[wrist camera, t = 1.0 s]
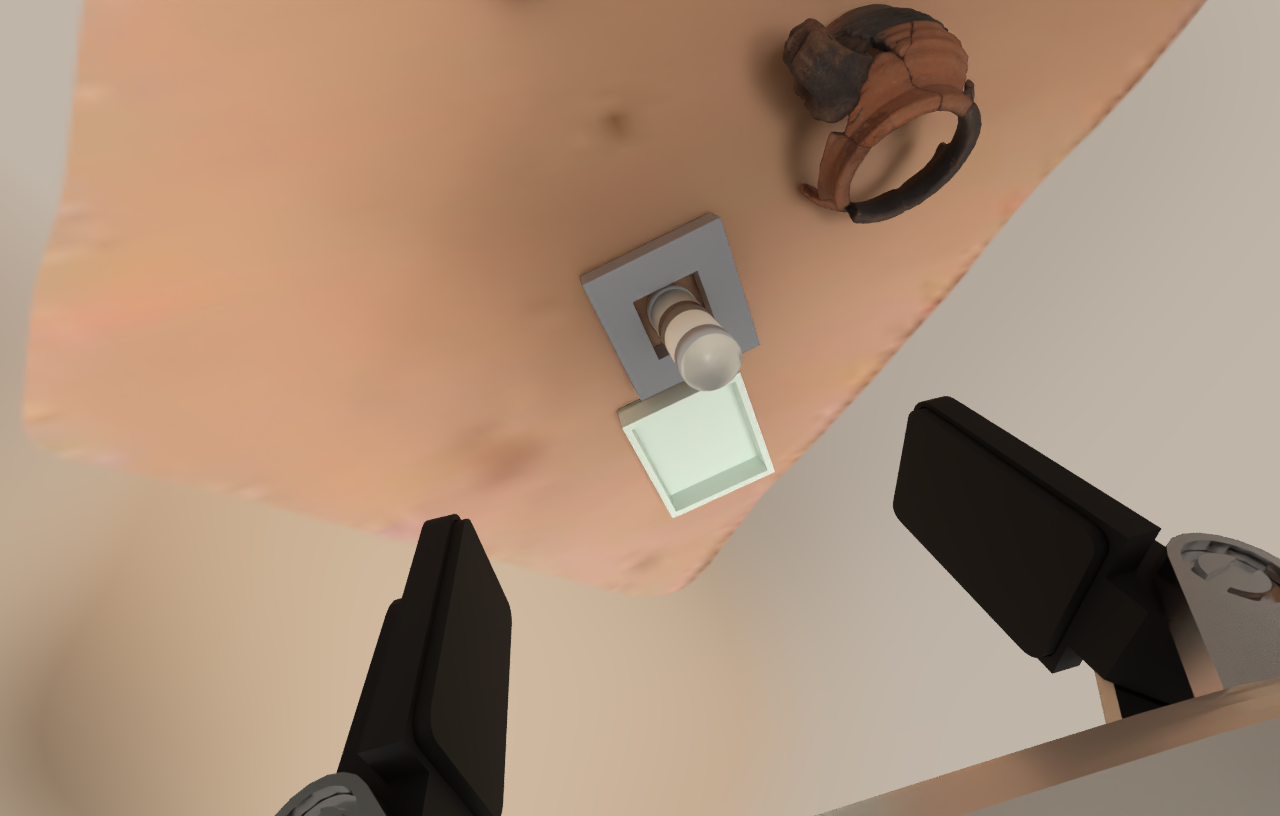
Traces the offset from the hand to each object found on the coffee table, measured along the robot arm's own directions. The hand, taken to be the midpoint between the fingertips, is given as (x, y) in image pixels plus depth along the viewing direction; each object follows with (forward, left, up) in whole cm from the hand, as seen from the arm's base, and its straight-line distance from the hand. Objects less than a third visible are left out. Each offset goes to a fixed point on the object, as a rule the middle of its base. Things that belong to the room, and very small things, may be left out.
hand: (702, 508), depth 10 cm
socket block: (-3, +5, -23) cm, 24 cm away
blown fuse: (-3, +5, -23) cm, 24 cm away
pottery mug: (-17, -2, -23) cm, 29 cm away
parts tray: (-1, +16, -23) cm, 28 cm away
